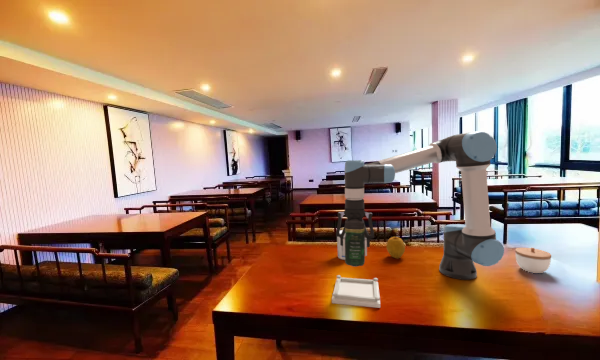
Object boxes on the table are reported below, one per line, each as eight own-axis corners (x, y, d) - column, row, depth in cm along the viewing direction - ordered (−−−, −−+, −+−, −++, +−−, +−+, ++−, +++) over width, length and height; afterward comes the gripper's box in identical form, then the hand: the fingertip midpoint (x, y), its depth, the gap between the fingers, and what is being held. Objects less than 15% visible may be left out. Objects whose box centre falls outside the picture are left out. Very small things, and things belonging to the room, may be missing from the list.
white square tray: (378, 285, 114) (377, 277, 114) (380, 307, 97) (380, 299, 97) (336, 281, 119) (336, 274, 118) (332, 303, 101) (331, 294, 101)
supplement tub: (358, 256, 148) (357, 231, 147) (348, 261, 141) (347, 235, 140) (344, 253, 155) (343, 228, 154) (334, 257, 148) (333, 232, 147)
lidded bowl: (548, 279, 114) (549, 254, 113) (512, 270, 124) (512, 248, 123) (552, 270, 122) (552, 247, 122) (517, 263, 132) (518, 242, 131)
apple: (384, 254, 151) (384, 234, 150) (402, 254, 150) (402, 234, 149) (388, 260, 141) (388, 239, 140) (407, 260, 140) (406, 239, 139)
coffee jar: (365, 268, 101) (364, 221, 100) (344, 266, 103) (343, 220, 102) (365, 258, 110) (364, 215, 109) (346, 257, 112) (345, 215, 111)
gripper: (380, 197, 106) (381, 252, 108) (330, 197, 111) (330, 249, 113) (382, 200, 99) (382, 259, 100) (327, 199, 104) (328, 255, 105)
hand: (355, 253), depth 106 cm, fingers closed on coffee jar, 8 cm apart
